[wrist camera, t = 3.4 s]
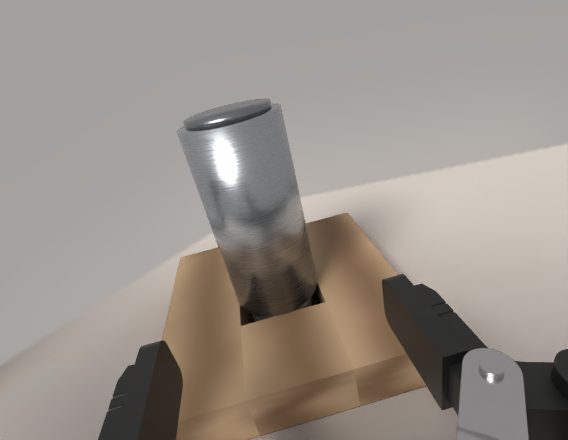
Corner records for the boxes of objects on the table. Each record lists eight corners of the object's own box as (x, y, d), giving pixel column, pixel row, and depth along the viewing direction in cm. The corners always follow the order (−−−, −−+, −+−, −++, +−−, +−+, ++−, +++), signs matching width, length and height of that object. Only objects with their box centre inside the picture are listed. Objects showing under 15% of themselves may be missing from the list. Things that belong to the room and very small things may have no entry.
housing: (164, 464, 17) (141, 432, 16) (191, 283, 32) (180, 257, 30) (450, 378, 18) (451, 340, 17) (351, 239, 32) (347, 212, 31)
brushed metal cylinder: (251, 360, 22) (166, 134, 15) (246, 303, 27) (180, 115, 20) (334, 336, 22) (287, 103, 15) (313, 284, 28) (271, 93, 21)
